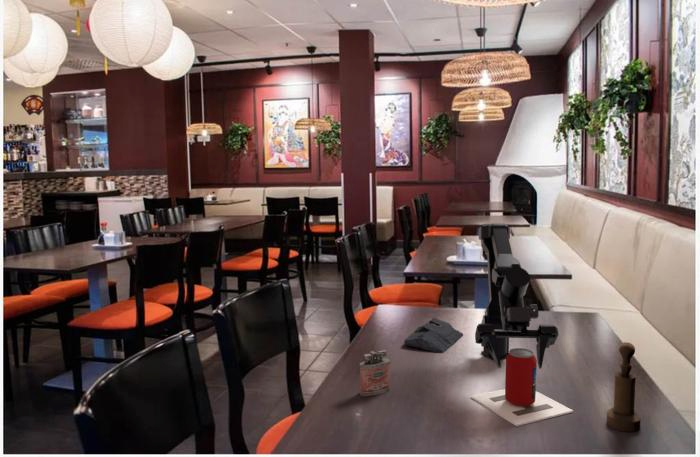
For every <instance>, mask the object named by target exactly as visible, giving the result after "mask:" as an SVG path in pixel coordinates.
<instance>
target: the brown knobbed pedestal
mask: <svg viewBox="0 0 700 457" xmlns="http://www.w3.org/2000/svg"><path fill="white" fill-rule="evenodd" d="M618 348H619V349H618V351H619V354H620V355H621V357H622V361H621V362H619V366H620V370H621V371H617V372H615V373H614V394H613V396H614V397H613V407H611V408H610V409H608V410H607V412H606V424H607V425H608V426H609V427H610V428H612V429H614V430H617V431H619V432H625V433H632V432H638V431H640V429H641V418H642V417H641V415H639V414H638V413H637V412H636V410H635V401H636V400H635V399H636V397H635V396H636V381H637V377H636V376H637V375H636V374H634V373H632V372H631V371H632V367H633V364H632V363H631V359H632V357H633V356H634V354H636V348H635V346H634V344H632V343H631V342H626V341H625V342H622V343H620V345H619V347H618Z"/></svg>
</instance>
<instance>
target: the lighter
mask: <svg viewBox="0 0 700 457" xmlns="http://www.w3.org/2000/svg"><path fill="white" fill-rule="evenodd" d="M387 356H388V351H387V350H386V349H384V350H379V351H377V352H375V351H373V350H372V351H369V353H366V354H363V359H364V361H362V362H360V363H359V368H360V388H359V395H360V396H363V397H368V396H375V395H380V394H383V393H386V392H390V390H391V386H390V364H391V360H390V359H389V358H385V357H387Z"/></svg>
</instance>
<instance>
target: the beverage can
mask: <svg viewBox="0 0 700 457" xmlns="http://www.w3.org/2000/svg"><path fill="white" fill-rule="evenodd" d="M537 366H538V360H537V357H536V356H535V354H534V351H532V350H530V349H527V348H522V347H521V348H519V347H518V348H517V347H515V348H511V349H509V353H508V355H507V357H506V358H505V381H504V382H505V383H504V386H505V387H504V389H505V399H506V400H507V401H508V402H510V403H511V404H512V405H515V406H520V407H526V406H529V405H531V404H533V403H534V402H535V395H536V391H537V389H536V388H537Z"/></svg>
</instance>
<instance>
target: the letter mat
mask: <svg viewBox="0 0 700 457" xmlns="http://www.w3.org/2000/svg"><path fill="white" fill-rule="evenodd" d="M470 398H471V399H472V400H474V401H475V402H477V403H479V404H480V405H482V406H483V407H485V408H486V409H488V410H489V411H491V412H493V413H494V414H496V415H497V416H499V417H501V418H502V419H504V420H505V421H507V422H509V423H510V424H511V425H514V426H515V427H518V426H523V425H526V424H530V423H534V422H539V421H544V420H547V419H552V418H555V417H560V416H564V415H568V414H571V413H574V410H573V409H571V408H569V407H567V406H566V405H563V404H562V403H559V402H558V401H556V400H554V399H552V398H550V397H548V396H547V395H544V394H543V393H541V392H538V391H537V390H536V395H535V402H534V403H533V404H531V405H529V406H526V407H520V406H515V405H512V404H511V403H510V402H508V401H507V400H506V399H505V388H504V389H499V390H493V391H489V392H484V393H480V394H475V395H471V396H470Z"/></svg>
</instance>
